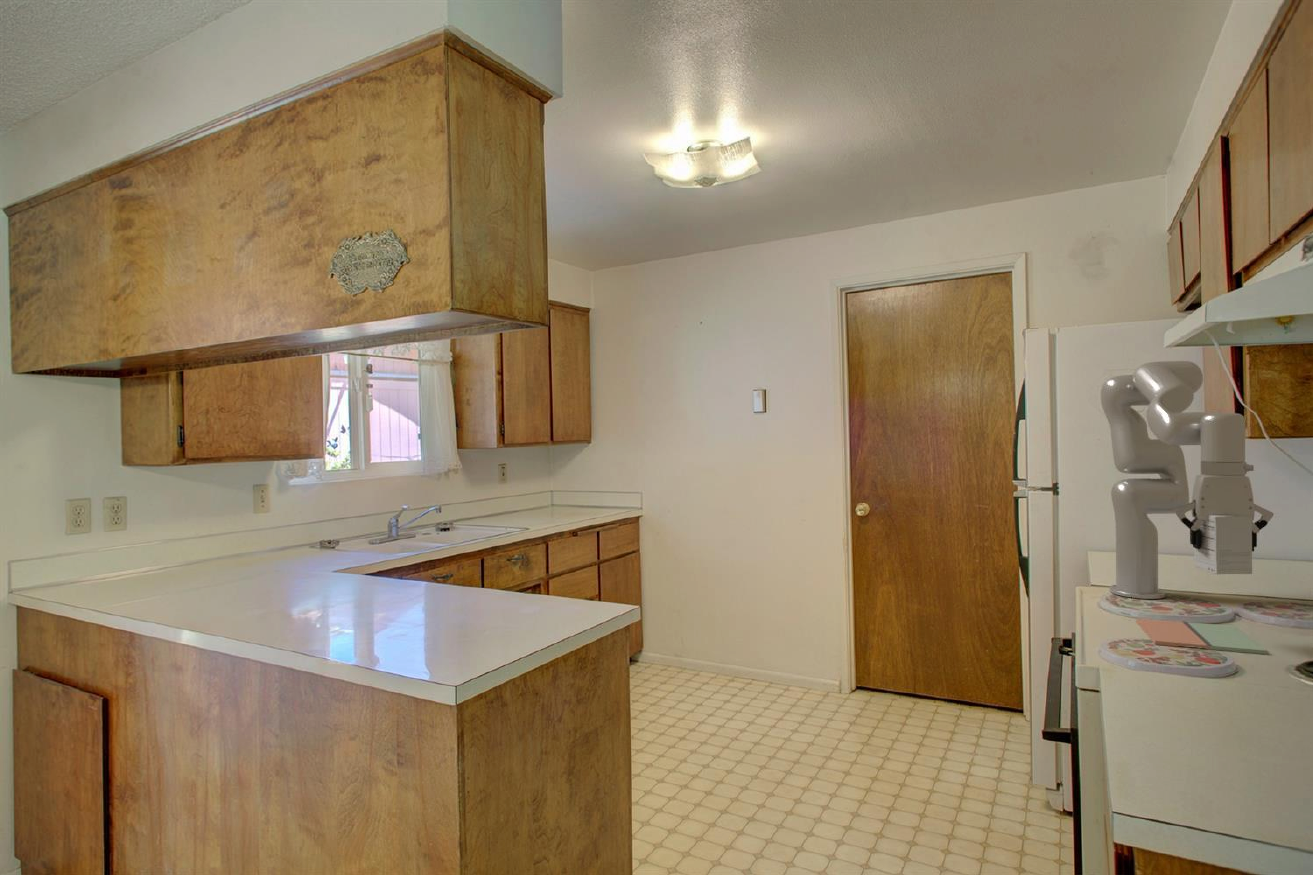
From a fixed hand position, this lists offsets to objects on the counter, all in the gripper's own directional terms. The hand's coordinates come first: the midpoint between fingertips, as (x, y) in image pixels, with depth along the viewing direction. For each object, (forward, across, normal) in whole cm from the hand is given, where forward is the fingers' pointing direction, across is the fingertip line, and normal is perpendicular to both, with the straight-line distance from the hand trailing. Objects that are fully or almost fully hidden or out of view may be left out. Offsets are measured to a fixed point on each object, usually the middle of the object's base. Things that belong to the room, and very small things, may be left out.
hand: (1222, 548), depth 152 cm
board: (+20, +5, 0) cm, 20 cm away
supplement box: (+5, 0, 0) cm, 5 cm away
